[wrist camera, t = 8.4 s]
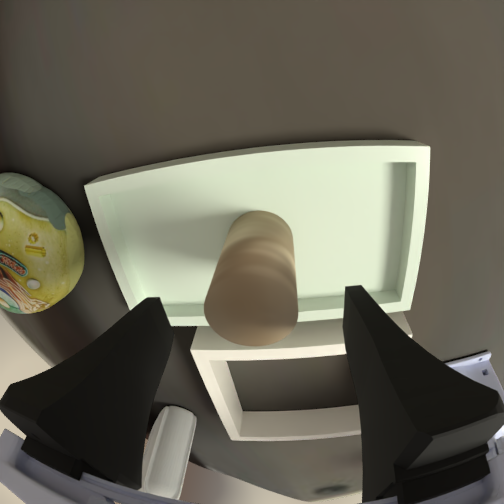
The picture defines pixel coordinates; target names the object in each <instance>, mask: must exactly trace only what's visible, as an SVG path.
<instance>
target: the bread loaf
mask: <svg viewBox="0 0 504 504" xmlns="http://www.w3.org/2000/svg"><path fill="white" fill-rule="evenodd" d="M204 314H205V318H206V320H207V322H208V324H209V325H210V327H211V328H212V329H213V330H214V331H215V332H216V333H217V334H218V335H219V336H221V337H222V338H224V339H226V340H228V341H230V342H233V343H235V344H239V345H243V346H255V347H257V346H265V345H270V344H273V343H276V342H278V341H280V340H282V339H283V338H285V337H286V336H287V335H289V334H290V333H291V331H292V330H293V329H294V327H295V326H296V323H297V320H298V297H297V282H296V268H295V256H294V243H293V235H292V231H291V229H290V227H289V226H288V224H287V223H286V222H285V221H284V220H283V219H282V218H281V217H279V216H278V215H276V214H274V213H271V212H268V211H261V210H260V211H251V212H247V213H245V214H243V215H241V216H240V217H238V218H237V219H236V220H235V221H234V222H233V224H232V225H231V227H230V229H229V232H228V234H227V237H226V240H225V243H224V246H223V249H222V251H221V254H220V257H219V260H218V263H217V266H216V269H215V272H214V275H213V278H212V281H211V283H210V286H209V289H208V292H207V295H206V298H205V302H204Z"/></svg>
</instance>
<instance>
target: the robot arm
mask: <svg viewBox="0 0 504 504" xmlns="http://www.w3.org/2000/svg"><path fill="white" fill-rule="evenodd" d="M342 328H343V335H344V343H345V350H346V354H347V358H348V362H349V366H350V370H351V374H352V378H353V382H354V386H355V391H356V395H357V400H358V406H359V414H360V425H361V438H362V460H363V491H362V503H359V504H504V437H503V436H504V391H503V388H502V386H501V384H500V382H499V380H498V378H497V376H496V374H495V372H494V370H493V368H492V366H491V364H490V362H489V358H490V357H491V353H490V351H488V352H484V353H481V354H478V355H474V356H471V357H467V358H464V359H460V360H456V361H452V362H448V363H443V362H442V361H440V360H439V359H437V358H436V357H434V356H433V355H432V354H430V353H429V352H427V351H426V350H425V349H424V348H423V347H421V346H420V345H419V344H418V343H416V342H415V341H414V340H413V339H412V338H411V337H409V336H408V335H407V334H406V333H405V332H404V331H403V330H402V329H401V328H400V327H399V326H398V325H397V324H396V323H395V322H394V321H393V320H392V319H391V318H390V317H389V316H388V315H387V314H386V313H385V312H384V310H383V309H382V308H381V307H380V306H379V305H378V304H377V303H376V301H375V300H374V299H373V298H372V297H371V296H370V294H369V293H368V292H367V291H366V290H365V289H364V287H363V286H362V285H355V286H345V297H344V312H343V326H342ZM173 337H174V332H173V330H172V327H171V325H170V322H169V320H168V317H167V315H166V312H165V310H164V307H163V304H162V302H161V299H160V297H147V298H145V299H144V300H142V301H141V302H140V303H139V304H137V305H136V306H135V307H134V308H133V309H131V310H130V311H129V312H128V313H127V314H126V315H125V316H123V317H122V318H121V319H120V320H119V321H118V322H116V323H115V324H114V325H113V326H112V327H111V328H109V329H108V330H107V331H106V332H104V333H103V334H102V335H101V336H100V337H98V338H97V339H96V340H95V341H93V342H92V343H91V344H89V345H88V346H87V347H85V348H84V349H82V350H81V351H79V352H78V353H76V354H75V355H73V356H72V357H70V358H68V359H67V360H65V361H63V362H61V363H60V364H58V365H56V366H54V367H52V368H51V369H48V370H46V371H44V372H42V373H40V374H38V375H35V376H33V377H30V378H28V379H25V380H22V381H19V382H16V383H13V384H11V385H10V386H9V387H8V389H7V390H6V392H5V393H4V395H3V397H2V398H1V400H0V410H1V412H2V413H3V414H4V415H5V416H6V417H7V418H8V419H9V420H10V421H11V422H12V423H13V424H14V425H15V426H16V427H17V428H19V429H20V430H21V431H22V432H23V433H24V434H25V435H26V439H25V440H23V439H22V438H20V437H19V436H17V435H15V434H14V433H12V432H11V431H9V430H7V429H4V431H3V433H2V435H1V437H0V482H1V483H2V484H3V485H5V486H6V487H7V488H8V489H9V490H11V491H12V492H13V493H14V494H15V495H16V496H17V497H19V498H20V499H21V500H22V501H23V502H25V503H26V504H115V503H114V501H115V502H118V503H121V504H198V503H192V502H186V501H181V500H175V499H171V498H166V497H162V496H157V495H153V494H149V493H145V492H141V491H138V490H139V489H140V488H142V464H143V453H144V444H145V438H146V431H147V425H148V420H149V416H150V411H151V407H152V403H153V400H154V397H155V394H156V391H157V388H158V386H159V383H160V380H161V377H162V375H163V372H164V369H165V366H166V364H167V361H168V358H169V355H170V351H171V347H172V342H173Z"/></svg>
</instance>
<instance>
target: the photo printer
mask: <svg viewBox="0 0 504 504" xmlns="http://www.w3.org/2000/svg"><path fill="white" fill-rule="evenodd" d="M195 427H196V416H194V414H193V413H192V412H190V411H188V410H186V409H184V408H181V407H177V406H170V407H168V406H166V407H165V408H163V409H162V411H161V412H160V414H159V416H158V418H157V419H156V421H155V423H154V425H153V427H152V430H151V433H150V435H149V439H148V442H147V446H146V449H145V452H144V455H143V464H142V488H140V489H139V490H138V491H141V492H145V493H149V494H153V495H157V496H162V497H166V498H171V499H175V500H179V497H180V494H181V490H182V485H183V481H184V477H185V472H186V468H187V463H188V459H189V454H190V450H191V445H192V441H193V436H194V431H195Z"/></svg>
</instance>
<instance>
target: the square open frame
mask: <svg viewBox="0 0 504 504" xmlns="http://www.w3.org/2000/svg"><path fill="white" fill-rule="evenodd" d="M386 314H387V315H388V316H389V317H390V318H391V319H392V320H393V321H394V322H395V323H396V324H397V325H398V326H399V327H400V328H401V329H402V330H403V331H404V332H405V333H406V334H407V335H408V336H409V337H411V338H412V332H411V329H410V327H409V325H408V322H407V320H406V318H405V316H404V313H403V311H399V312H391V313H386ZM342 326H343V318H338V319H327V320H315V321H302V322H297V323H296V326H295V327H294V329H293V330H292V331H291V333H290V334H289V335H287V336H286V337H285V338H283V339H282V340H280V341H278V342H276V343H273V344H270V345H265V346H257V347H255V346H243V345H239V344H235V343H233V342H230V341H228V340H226V339H224V338H222V337H221V336H219V335H218V334H217V333H216V332H215V331H214V330H213V329H212V328H211V327H210V326H198V327H197V330H196V333H195V336H194V339H193V342H192V346H191V349H190V351H191V353H192V356H193V358H194V360H195V363H196V365H197V367H198V370H199V372H200V374H201V377H202V379H203V381H204V384H205V386H206V388H207V390H208V392H209V395H210V397H211V399H212V401H213V403H214V405H215V408H216V410H217V412H218V414H219V416H220V418H221V420H222V422H223V424H224V426H225V428H226V430H227V432H228V434H229V436H230V438H231V440H241V441H289V440H308V439H321V438H332V437H341V436H349V435H357V434H361V425H360V414H359V406H358V405H351V406H343V407H334V408H323V409H311V410H295V411H260V412H250V411H243V410H242V407H241V404H240V401H239V398H238V395H237V392H236V389H235V386H234V383H233V380H232V377H231V374H230V371H229V368H228V364H227V361H226V360H270V359H291V358H306V357H319V356H330V355H340V354H346V350H345V343H344V335H343V328H342Z"/></svg>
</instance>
